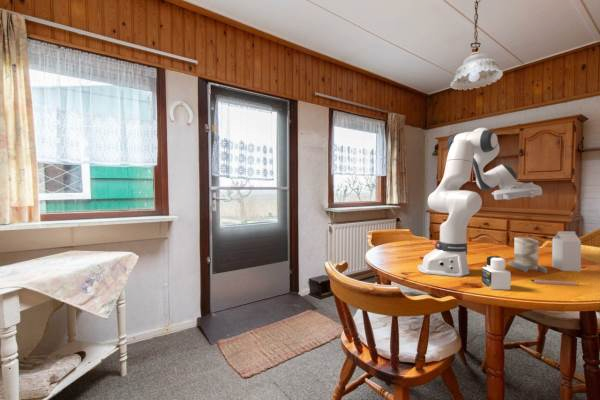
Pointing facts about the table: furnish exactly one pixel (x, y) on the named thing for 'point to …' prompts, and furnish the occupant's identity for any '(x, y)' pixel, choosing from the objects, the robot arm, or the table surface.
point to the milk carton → (566, 251)
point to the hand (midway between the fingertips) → (520, 196)
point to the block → (526, 252)
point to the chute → (543, 272)
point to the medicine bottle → (496, 274)
